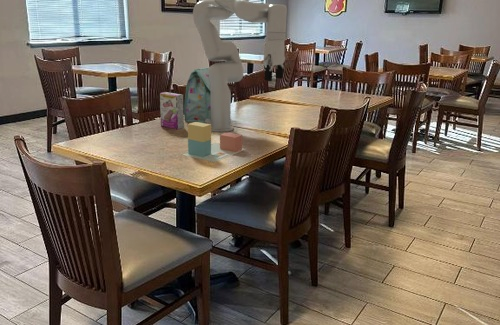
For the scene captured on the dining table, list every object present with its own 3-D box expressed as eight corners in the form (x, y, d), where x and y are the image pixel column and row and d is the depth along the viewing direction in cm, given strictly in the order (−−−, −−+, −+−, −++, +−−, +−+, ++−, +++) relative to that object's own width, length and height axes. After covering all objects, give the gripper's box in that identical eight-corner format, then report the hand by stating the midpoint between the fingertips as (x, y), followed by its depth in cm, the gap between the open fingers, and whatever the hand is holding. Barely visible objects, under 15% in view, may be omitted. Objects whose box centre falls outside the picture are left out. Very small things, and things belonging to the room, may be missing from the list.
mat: (181, 155, 180) (181, 154, 180) (215, 143, 198) (215, 142, 198) (214, 163, 172) (214, 162, 172) (246, 149, 190) (246, 149, 190)
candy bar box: (160, 126, 225) (158, 93, 220) (167, 124, 229) (166, 91, 224) (177, 130, 219) (176, 95, 214) (184, 128, 223) (183, 94, 218)
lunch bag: (210, 125, 231) (210, 70, 223) (181, 121, 236) (180, 68, 228) (228, 116, 251) (228, 66, 243) (200, 113, 257) (200, 64, 248)
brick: (219, 148, 189) (220, 134, 187) (226, 146, 193) (227, 132, 191) (235, 152, 185) (235, 137, 184) (241, 149, 189) (242, 135, 188)
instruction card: (207, 155, 180) (207, 155, 180) (216, 152, 185) (216, 151, 185) (220, 158, 177) (220, 157, 177) (229, 154, 182) (229, 154, 182)
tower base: (188, 153, 182) (187, 124, 178) (196, 150, 186) (195, 121, 182) (203, 157, 178) (203, 126, 174) (211, 154, 182) (211, 124, 178)
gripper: (277, 35, 194) (275, 76, 199) (257, 36, 180) (255, 80, 185) (293, 36, 190) (290, 78, 196) (274, 38, 176) (271, 82, 182)
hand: (273, 79), depth 190 cm, fingers open, 9 cm apart
